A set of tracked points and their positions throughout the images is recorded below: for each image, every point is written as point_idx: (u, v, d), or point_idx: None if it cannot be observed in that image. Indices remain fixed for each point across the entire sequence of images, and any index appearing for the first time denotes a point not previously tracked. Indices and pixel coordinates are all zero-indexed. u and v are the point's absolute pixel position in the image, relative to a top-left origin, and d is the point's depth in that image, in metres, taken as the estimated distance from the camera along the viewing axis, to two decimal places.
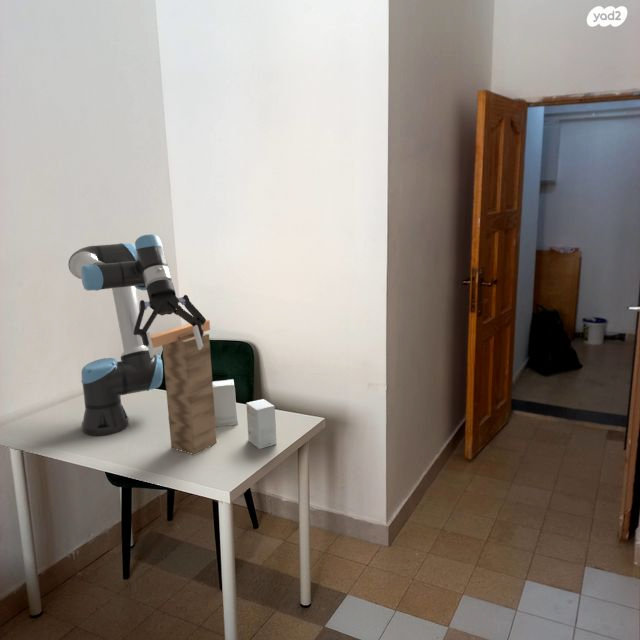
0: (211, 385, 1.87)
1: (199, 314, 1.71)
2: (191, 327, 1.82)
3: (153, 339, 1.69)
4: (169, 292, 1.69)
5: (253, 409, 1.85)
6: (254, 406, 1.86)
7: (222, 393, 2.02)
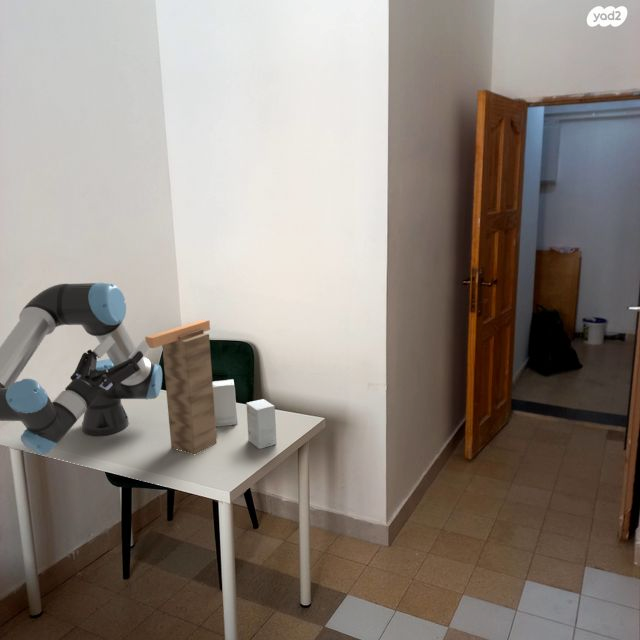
0: (211, 385, 1.87)
1: None
2: (191, 327, 1.82)
3: (153, 339, 1.69)
4: None
5: (253, 409, 1.85)
6: (254, 406, 1.86)
7: (222, 393, 2.02)
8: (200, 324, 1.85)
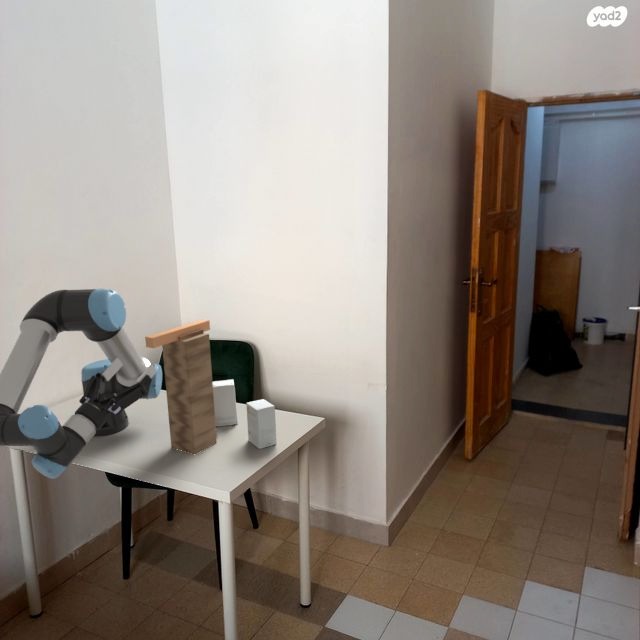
0: (211, 385, 1.87)
1: None
2: (191, 327, 1.82)
3: (153, 339, 1.69)
4: None
5: (253, 409, 1.85)
6: (254, 406, 1.86)
7: (222, 393, 2.02)
8: (200, 324, 1.85)
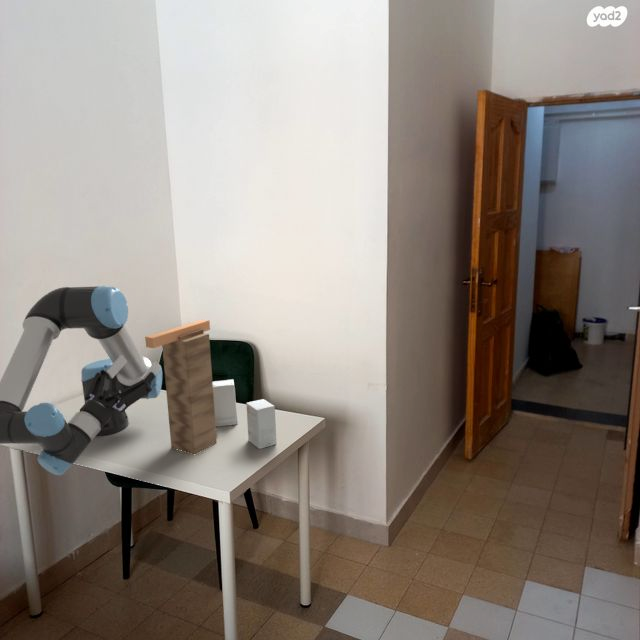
0: (211, 385, 1.87)
1: None
2: (191, 327, 1.82)
3: (153, 339, 1.69)
4: None
5: (253, 409, 1.85)
6: (254, 406, 1.86)
7: (222, 393, 2.02)
8: (200, 324, 1.85)
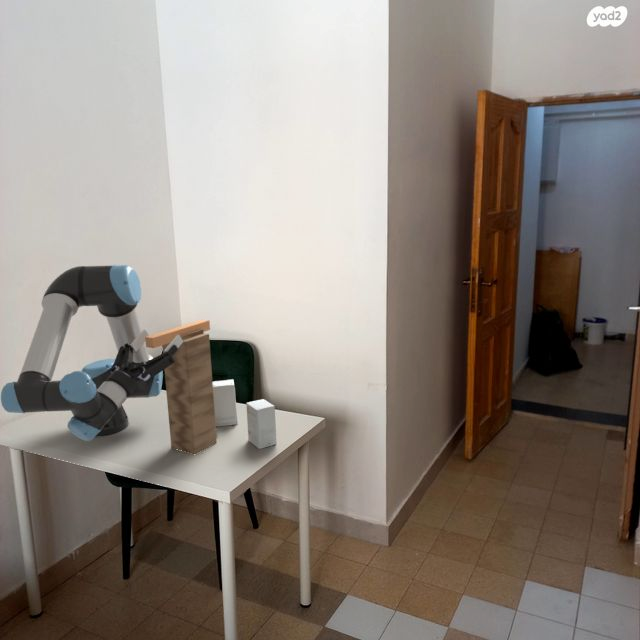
0: (211, 385, 1.87)
1: None
2: (191, 327, 1.82)
3: (153, 339, 1.69)
4: None
5: (253, 409, 1.85)
6: (254, 406, 1.86)
7: (222, 393, 2.02)
8: (200, 324, 1.85)
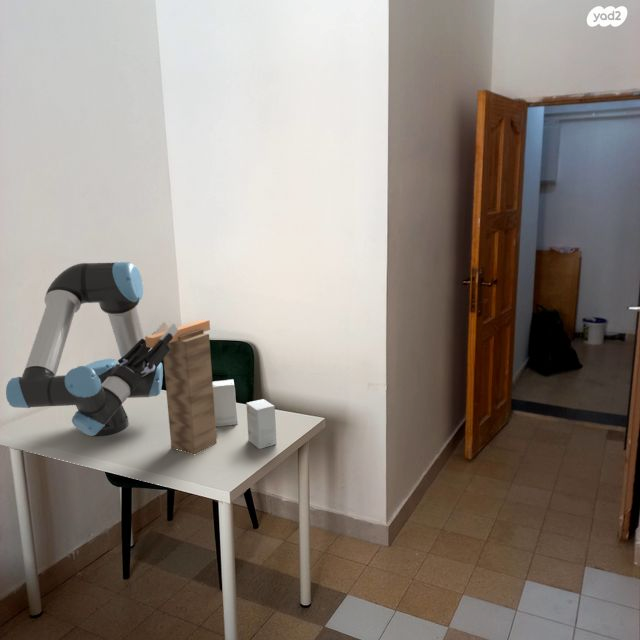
0: (211, 385, 1.87)
1: None
2: (191, 327, 1.82)
3: (153, 339, 1.69)
4: None
5: (253, 409, 1.85)
6: (254, 406, 1.86)
7: (222, 393, 2.02)
8: (200, 324, 1.85)
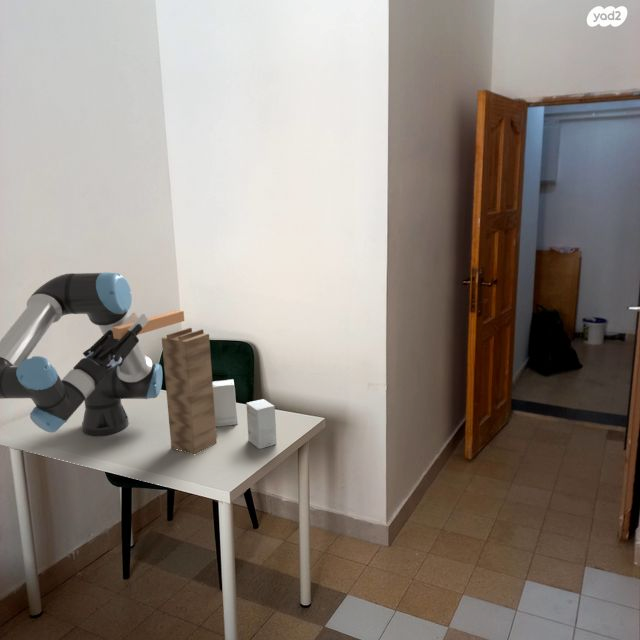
0: (211, 385, 1.87)
1: None
2: (163, 318, 1.71)
3: (121, 330, 1.58)
4: None
5: (253, 409, 1.85)
6: (254, 406, 1.86)
7: (222, 393, 2.02)
8: (173, 315, 1.75)
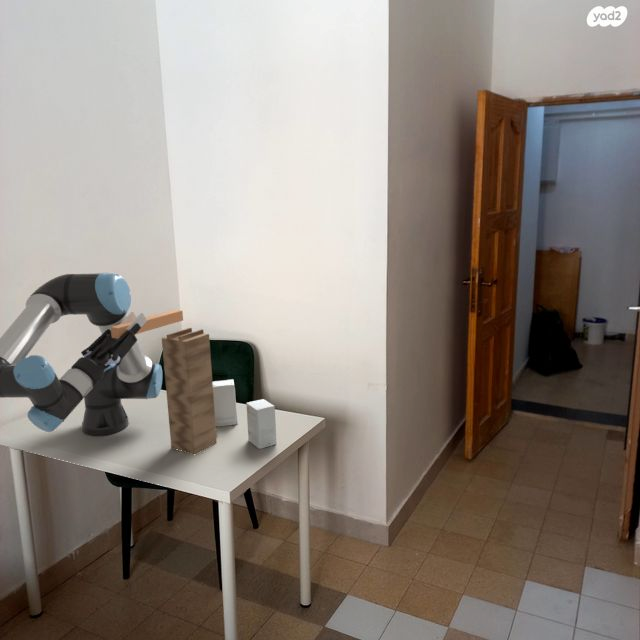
0: (211, 385, 1.87)
1: None
2: (162, 317, 1.71)
3: (119, 329, 1.58)
4: None
5: (253, 409, 1.85)
6: (254, 406, 1.86)
7: (222, 393, 2.02)
8: (172, 314, 1.74)
